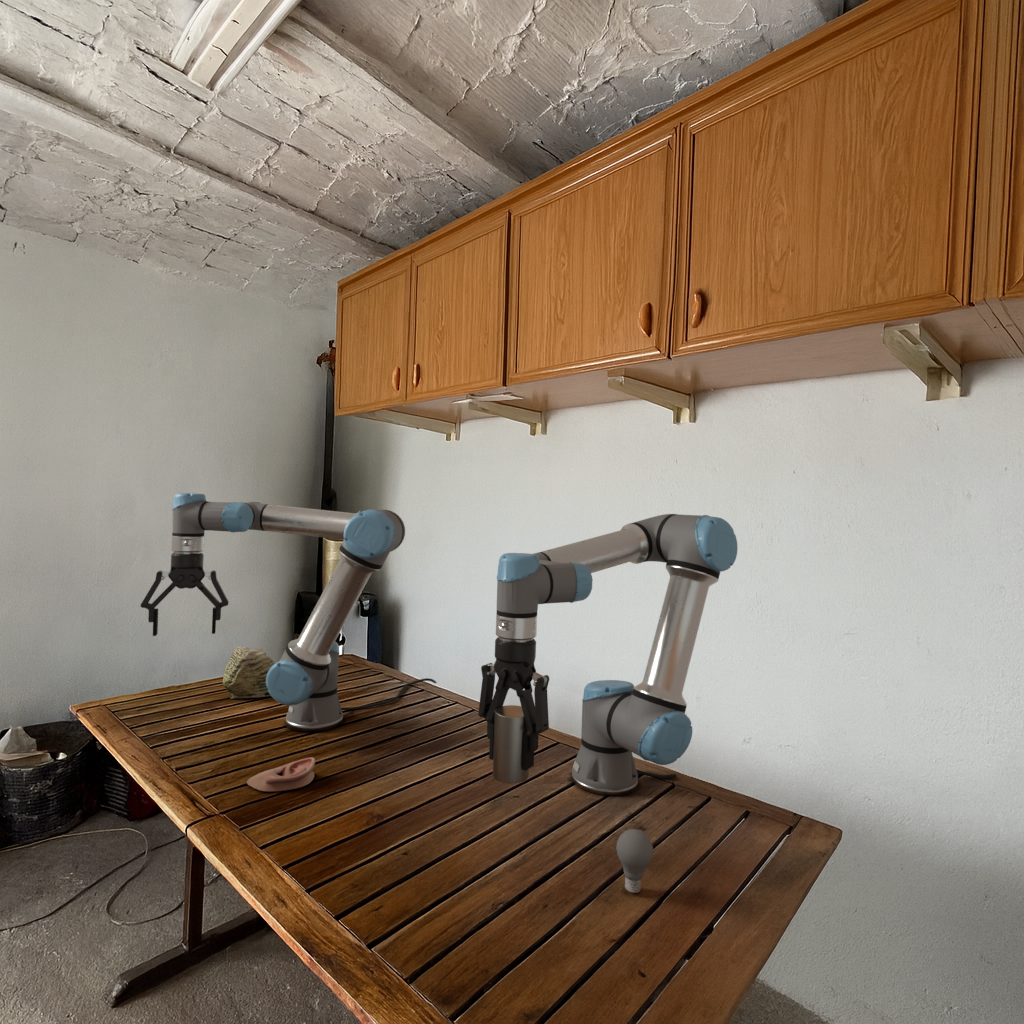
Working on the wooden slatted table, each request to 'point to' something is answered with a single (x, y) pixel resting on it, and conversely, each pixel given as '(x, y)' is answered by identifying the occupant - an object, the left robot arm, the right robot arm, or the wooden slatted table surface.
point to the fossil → (247, 673)
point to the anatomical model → (284, 776)
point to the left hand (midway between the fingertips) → (184, 633)
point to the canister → (509, 744)
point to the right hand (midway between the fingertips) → (511, 762)
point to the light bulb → (634, 857)
